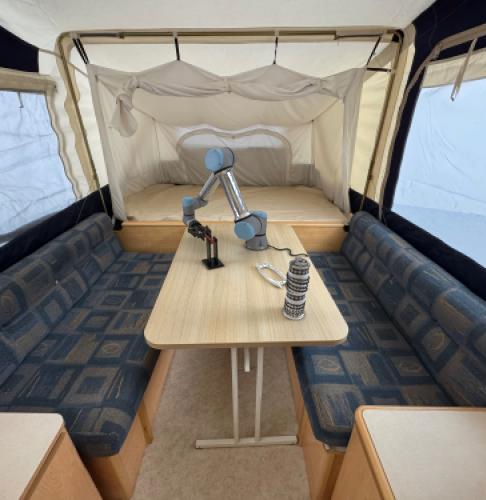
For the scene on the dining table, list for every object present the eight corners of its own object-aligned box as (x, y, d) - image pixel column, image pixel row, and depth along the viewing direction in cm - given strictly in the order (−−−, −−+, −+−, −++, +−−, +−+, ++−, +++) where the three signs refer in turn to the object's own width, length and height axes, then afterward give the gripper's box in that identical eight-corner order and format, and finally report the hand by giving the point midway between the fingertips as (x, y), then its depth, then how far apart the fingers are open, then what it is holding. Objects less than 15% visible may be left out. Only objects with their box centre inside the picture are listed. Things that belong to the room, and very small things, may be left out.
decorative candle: (278, 314, 111) (283, 261, 100) (287, 303, 118) (293, 253, 107) (299, 323, 106) (307, 268, 95) (307, 311, 113) (315, 258, 102)
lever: (200, 236, 156) (199, 231, 155) (206, 235, 158) (205, 230, 156) (209, 245, 144) (209, 239, 142) (216, 244, 145) (215, 238, 144)
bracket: (201, 261, 154) (200, 236, 147) (216, 258, 157) (215, 233, 151) (208, 269, 145) (207, 243, 138) (223, 266, 148) (223, 240, 142)
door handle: (267, 263, 152) (293, 285, 131) (252, 267, 148) (276, 290, 127) (267, 259, 150) (293, 280, 130) (252, 263, 147) (276, 285, 126)
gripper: (206, 228, 174) (221, 241, 156) (181, 232, 167) (193, 246, 149) (206, 218, 171) (220, 229, 152) (180, 221, 164) (193, 234, 145)
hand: (207, 238), depth 151 cm, fingers closed on lever, 4 cm apart
